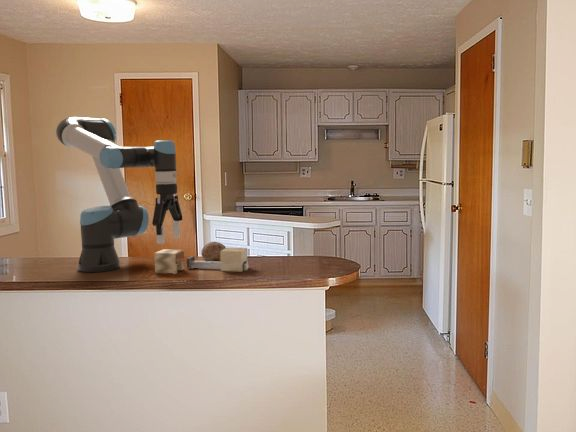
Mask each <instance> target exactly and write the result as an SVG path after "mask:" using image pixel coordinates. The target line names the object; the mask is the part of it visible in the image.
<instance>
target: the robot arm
mask: <svg viewBox="0 0 576 432" xmlns="http://www.w3.org/2000/svg"><path fill="white" fill-rule="evenodd" d="M55 129H56V130H55V134H56V137H57V140H59V141H58V142H60V143H61V144H62V145H64V146H66V147H68V148H70V149H75V148H76V149H78V150H80V151H81V152H84V153H86V154H88V155H90V156H91V158H92V160H93V163H94V165H95V167H96V170H97V173H98V176H99V179H100V181H101V184H102V185H103V189H104V192H105V194H106V196H107V200H108V202H109V205H101V206H93V207H88V208H86V209H84V210H82V211H81V213H80V215H79V217H80V219H79V225H80V237H81V253H80V255H79V258H78V259H79V260H78V263H77V270H78V271H80V272H84V273H100V272H102V273H103V272H107V271H108V272H109V271H114V270H117V269H119V268H120V267H121V262H120V258H119V256H118V253H117V251H116V247H115V239H121V238H129V237H136V236H139V235H142V234H144V233H145V232H146V231H147V229H148V226H149V221H150V217H149V216H150V215H149V212H148V209H147V208H146V207H145V206H142V205H139V204H138V201H137V199H135V198H133V197H132V196H131V193H130V192H129V189H128V188H129V187H127V183H126V181H125V178H124V176H123V174H122V170H121V169H124V168H125V169H127V168H130V169H131V168H133V169H134V168H154V171H155V177H154V181H155V183H156V185H155V193H156V195H159V197H155V203H154V205H155V206H154V211H153V216H152V222H151V223H152V226H153V227H155V230H156V231H155V232H156V234H155V237H156V244H157V245H165V242H166V241H165V225H164V221H165V218H166V214H167V211H169V214H170V216H171V218H172V238H173V239H181V221H183V213H182V209H181V207H180V203H179V197H178V196H179V195H178V184H177V183H176V182H177V177H178V174H177V158H176V157H177V156H176V155H177V151H176V144H175V143H176V142H175V141H173V140H155V141H154V143H153V146H119V145H117V144H116V143H115V142H116V140H117V135H116V134H117V132H116V128H115V126H114V124H113V123H112V122H111V120H109V119H106V118H101V117H83V116H82V117H79V116H69V117H66V118H64V119H62V120H61V121H60V122H59V123H58V125H57V127H56V128H55Z"/></svg>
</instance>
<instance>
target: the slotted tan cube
mask: <svg viewBox="0 0 576 432" xmlns="http://www.w3.org/2000/svg"><path fill="white" fill-rule="evenodd" d="M153 255H154V273H155V274H167V273H173V275H176V274H178V271H184V270H185V267H184V265H185V264H184V261H185V251H184V250H183V249H173V248H172V249H170V248H169V249H167V248H166V249H164V248H163V249H161V250H158V251H156V252H154V254H153ZM183 269H184V270H183Z"/></svg>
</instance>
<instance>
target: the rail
mask: <svg viewBox="0 0 576 432" xmlns="http://www.w3.org/2000/svg"><path fill="white" fill-rule="evenodd" d="M193 268H198V270H200V269H201V270H220V271H221V272H234V273H235V272H238V273H242V272H246V271H248V270H249V262H248V248H247V247H228V246H227V247H226V248H225V249H223V250H222V251H220V259H219V260H211V261H207V260H195V255H191V256H189V257H187V258H186V269H187V270H190V269H193Z"/></svg>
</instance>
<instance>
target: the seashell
mask: <svg viewBox="0 0 576 432" xmlns="http://www.w3.org/2000/svg"><path fill="white" fill-rule="evenodd" d="M225 248H227V247H226V245H224V244H222V243H221V242H218V241H211V242H208V243H206V244H205V245H204V246H203V247H202V249H201V256H202V258H203V259H204V261H216V260H220V251H222V250H223V249H225Z"/></svg>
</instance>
